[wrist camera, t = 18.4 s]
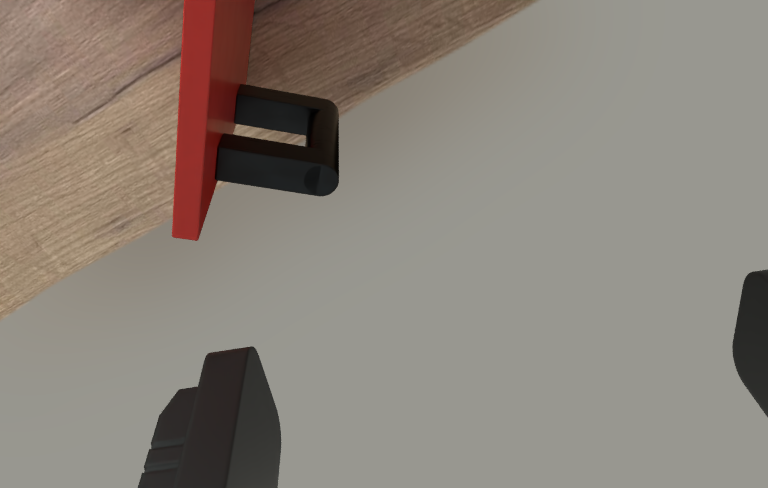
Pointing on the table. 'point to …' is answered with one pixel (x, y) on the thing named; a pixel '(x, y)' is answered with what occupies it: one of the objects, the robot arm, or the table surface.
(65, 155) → the table surface
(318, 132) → the door
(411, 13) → the table surface
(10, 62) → the table surface
